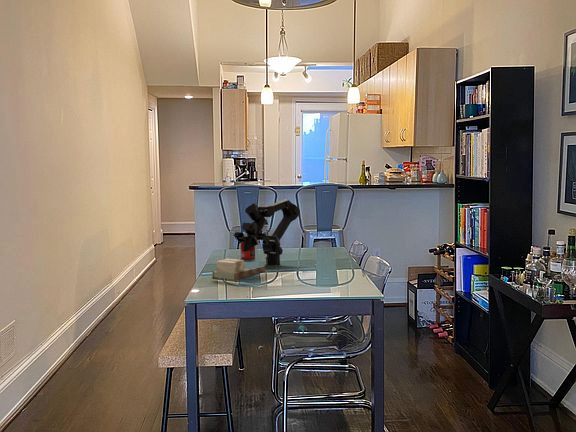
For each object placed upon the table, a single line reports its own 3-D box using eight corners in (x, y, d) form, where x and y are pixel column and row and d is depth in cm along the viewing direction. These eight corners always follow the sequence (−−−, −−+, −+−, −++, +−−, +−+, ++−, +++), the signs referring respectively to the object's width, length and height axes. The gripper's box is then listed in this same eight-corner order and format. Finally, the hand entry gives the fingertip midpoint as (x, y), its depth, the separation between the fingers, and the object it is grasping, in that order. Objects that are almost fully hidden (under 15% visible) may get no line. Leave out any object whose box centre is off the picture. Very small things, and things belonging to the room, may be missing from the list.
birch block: (228, 273, 274) (227, 258, 273) (244, 275, 268) (243, 260, 267) (217, 276, 267) (216, 261, 266) (233, 278, 262) (233, 262, 261)
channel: (242, 270, 286) (242, 263, 286) (265, 272, 279) (265, 265, 278) (212, 278, 267) (212, 271, 267) (235, 281, 260) (235, 274, 259)
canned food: (253, 259, 316) (252, 240, 315) (239, 259, 318) (238, 240, 317) (256, 257, 324) (256, 238, 323) (243, 257, 325) (242, 238, 324)
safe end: (225, 275, 275) (225, 268, 275) (248, 278, 268) (248, 270, 267) (212, 278, 267) (212, 271, 267) (235, 281, 260) (235, 274, 259)
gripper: (235, 215, 283) (221, 240, 275) (265, 216, 273) (252, 242, 265) (245, 229, 291) (232, 253, 283) (275, 231, 281) (262, 256, 273)
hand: (244, 251), depth 276 cm, fingers closed
